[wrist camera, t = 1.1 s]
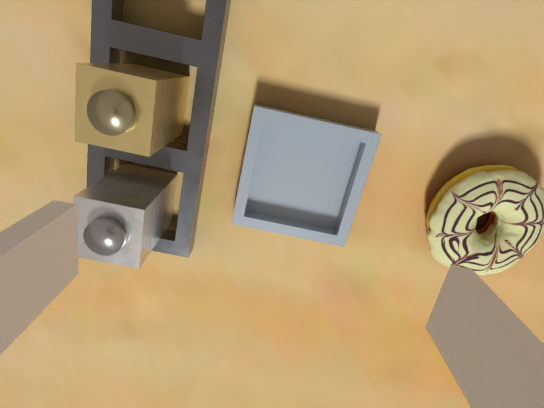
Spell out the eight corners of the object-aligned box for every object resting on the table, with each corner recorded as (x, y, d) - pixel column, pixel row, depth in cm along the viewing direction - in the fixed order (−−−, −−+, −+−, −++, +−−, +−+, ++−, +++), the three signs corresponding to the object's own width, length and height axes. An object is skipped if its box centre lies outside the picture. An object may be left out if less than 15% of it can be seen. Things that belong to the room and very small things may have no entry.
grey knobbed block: (124, 163, 34) (68, 199, 25) (177, 174, 34) (140, 214, 25) (121, 211, 36) (67, 261, 26) (171, 221, 36) (135, 274, 27)
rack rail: (108, -109, 26) (95, -123, 24) (242, -75, 27) (239, -86, 25) (95, 228, 36) (85, 237, 34) (192, 247, 37) (188, 257, 35)
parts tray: (255, 103, 32) (254, 105, 30) (375, 130, 32) (381, 134, 30) (233, 215, 36) (231, 223, 34) (340, 237, 36) (344, 246, 34)
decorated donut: (417, 265, 38) (431, 286, 34) (419, 167, 34) (435, 179, 30) (520, 256, 37) (545, 276, 33) (534, 154, 33) (565, 165, 29)
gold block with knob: (131, 63, 31) (69, 62, 21) (189, 76, 31) (152, 81, 22) (127, 121, 32) (68, 143, 23) (182, 133, 33) (145, 159, 24)
